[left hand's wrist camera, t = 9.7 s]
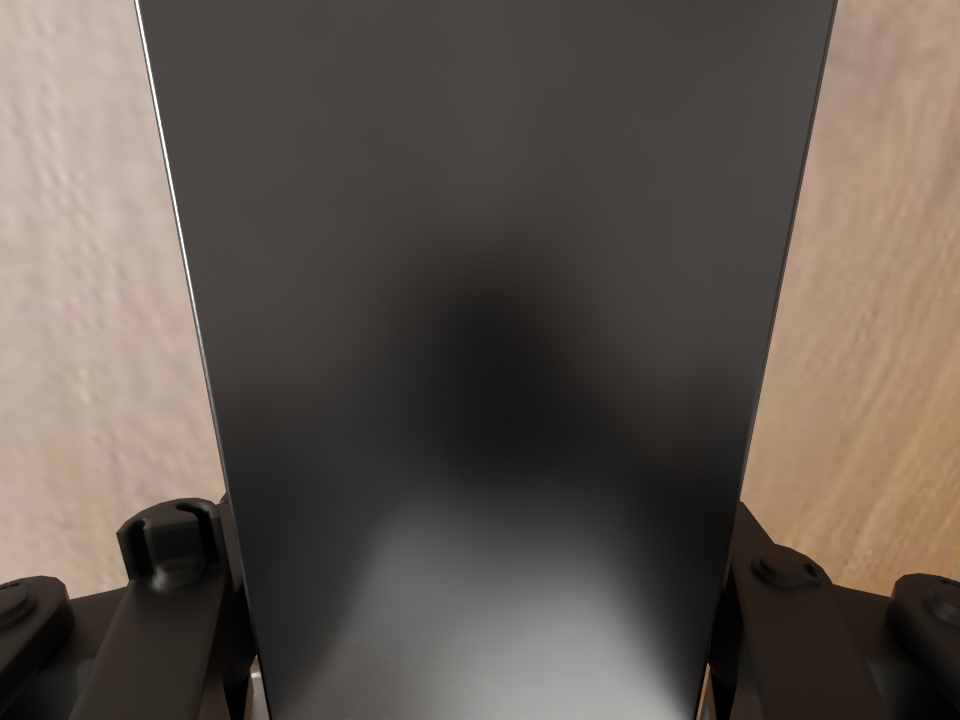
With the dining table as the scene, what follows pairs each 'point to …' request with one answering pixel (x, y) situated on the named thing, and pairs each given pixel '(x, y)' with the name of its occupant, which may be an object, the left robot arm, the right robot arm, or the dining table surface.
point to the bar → (484, 330)
